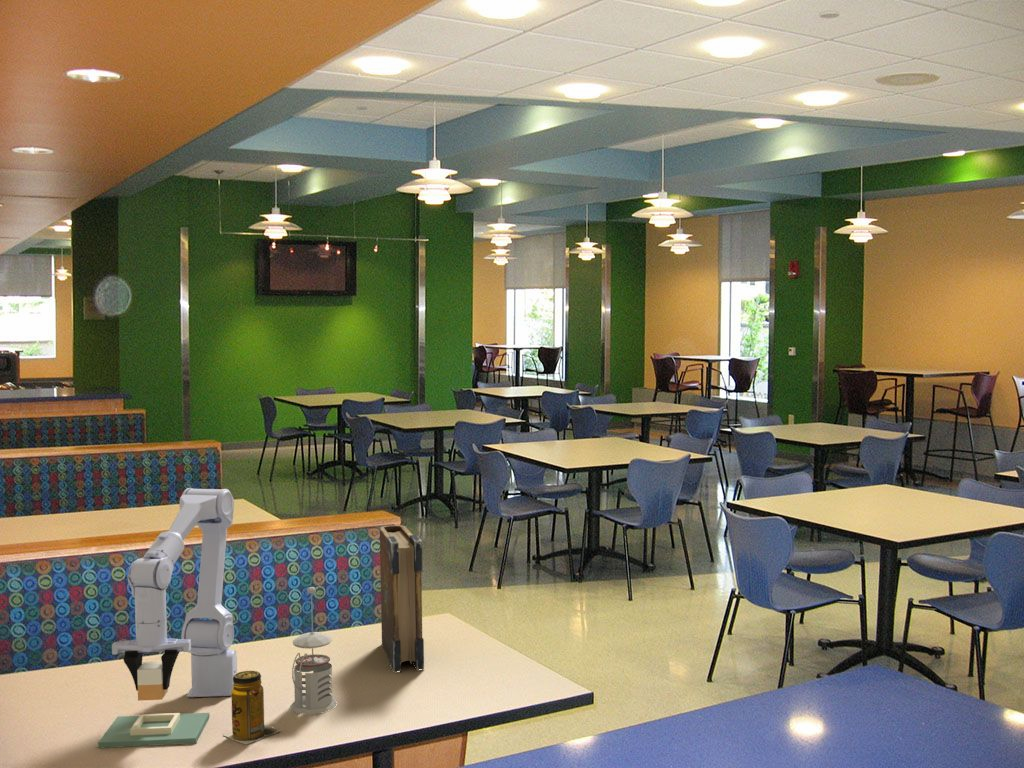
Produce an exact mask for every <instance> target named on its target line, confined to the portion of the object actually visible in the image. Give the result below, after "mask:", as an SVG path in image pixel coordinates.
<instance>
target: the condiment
mask: <svg viewBox="0 0 1024 768" xmlns="http://www.w3.org/2000/svg"><path fill="white" fill-rule="evenodd" d="M261 678H262V675H261V673H260V672H259V671H256V670H244V671H239V672H237V674H235V675H234V676H233V689H232V691H231V696H230V697H231V728H232V731H231V732H229V733H227V734H223V736H224V737H227V738H228V739H231V740H232V741H236V742H237V743H241V744H242V745H243V744H244V745H248V744H251V743H255V742H257V741H260V740H263V739H264V738H267V737H268V736H271V735H275V734H276V733H278V732H282V731H283V730H282V729H278V728H275V727H273V726H271V725H267V724H265V699H264V698H265V697H264V695H265V694H264V687H263V685H262V679H261Z"/></svg>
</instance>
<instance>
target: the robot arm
mask: <svg viewBox="0 0 1024 768" xmlns="http://www.w3.org/2000/svg"><path fill="white" fill-rule="evenodd" d="M178 505H179V511H178V513H177V514H176V517H175V518H174V520H173V522H172V524H171V526H170V527H169V529H168V530H167V531H162V532H161V533H159V535H157V537H156V538H155V539H154V541H153V543H152V544H151V545H150V547H149V548H148V550H147V551H145V552H146V553H144V555H143V557H141V558H137V559H135V560H133V562H131V565H130V566H129V570H128V575H127V582H128V585H129V587H130V589H131V596H132V597H133V598H134V616H135V617H134V618H135V639H129V640H124V641H114V642H113V643H112V644H111V652H112V653H111V654H112V655H119V654H124V657H123V662H124V665H126V667H127V669H128V670H129V673H130V675H131V678H132V679H133V682H134V686H135V691H137V692H138V678H137V670H138V669H139V667H140V666H141V665H142V664H143V653H155V652H156V653H162V655H161V656H160V658H161V662H162V666H163V690H167V689H168V690H169V687H170V686H171V685H170V684H171V676H172V672H173V669H174V666H175V664H176V661H177V659H178V656H179V654H180V652H184V653H190V661H191V662H190V663H191V664H190V669H191V671H190V672H191V688H189V691H188V692H187V694H186V698H204V697H207V698H208V697H226V696H227V697H228V696H229V697H231V691H232V689H233V676H234V675H235V674H237V673H238V658H237V657H238V655H237V651H236V650H235V649H231V648H230V647H231V645H233V642H234V638H235V629H234V628H235V627H234V616H233V614H232V613H231V612H230V611H229V610H228V609H227V608H225V606H223V605H222V601H223V599H222V598H223V588H224V585H223V584H224V573H225V562H226V546H227V539H228V538H227V535H228V528H230V527H232V526H233V521H234V520H233V519H234V509H235V499H234V497H233V494H232V493H231V491H230V490H229V489H228V488H222V489H218V488H216V489H215V488H192V487H188V488H185V489H184V490H183V492H182V493H181V496H180V497H179V504H178ZM195 527H198V528H199V530H201V532H202V537H201V538H202V540H201V552H200V564H199V565H200V566H199V575H198V577H199V578H198V587H197V589H198V590H197V601H196V605H195V606H194V607H193V608H192V609H190V610H189V611H188V612H187V613H185V619H184V624H183V626H182V629H181V633H180V634H181V637H180V638H173V637H172V638H169V637H168V631H167V630H168V629H167V627H168V626H167V625H168V623H167V588H166V587H168V585H170V583H171V580H172V576H173V575H172V574H173V572H174V568H175V566H174V565H175V563H176V562H177V560H178V559H179V557H180V556H181V555H182V553H183V552H184V550H185V539H186V538H187V537H188V536H189V534H190V533H191V532H192V530H194V528H195ZM211 619H212V620H211ZM229 648H230V649H229Z"/></svg>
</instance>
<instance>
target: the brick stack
mask: <svg viewBox="0 0 1024 768" xmlns="http://www.w3.org/2000/svg"><path fill="white" fill-rule="evenodd" d="M137 678H138V691H137V701H160V700H161V701H162V700H163V699H164V697H165V696H166V695H167V694H168V690H169V688H168V689H167V690H163V666H162V661H150V662H149V661H146V662H145V661H144V662H143V661H142V665H141V666H140V667H139V669H138V670H137Z"/></svg>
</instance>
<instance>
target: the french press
mask: <svg viewBox="0 0 1024 768" xmlns="http://www.w3.org/2000/svg"><path fill="white" fill-rule="evenodd" d="M306 593H307V594H310V600H311V601H310V602H311V603H310V604H311V607H310V609H311V612H310V613H311V632H305V633H303V634H300V635H299V636H297V637H296V638H295V639H294V640H292V645H293V646H295V647H296V648H299V649H311V653H310V654H307V653H304V655H301V653H300V652H298V653H297V654H296V655H295V658H294V659H293V663H292V667H291V668H292V671H291V675H292V677H291V679H292V683H293V686H294V692H293V693H294V701H293V702H292V703H291V704H290V705H289V710H290V709H291V711H292V712H293V711H294V712H293V713H296V712H297V714H300V713H301V715H316V713H318V714H322V713H321V712H323V713H327V712H329V711H328V710H330V711H331V709H332V710H333V708H334V707H335V706H336V704H337V705H338V702H337V703H336V701H337V700H336V699H334V698H333V695H332V694H333V689H331V688H333V683H331V682H333V678H332V677H331V676H333V667H332V666H333V665H332V663H330V661H331V658H330V656H328V655H326V654H322V653H321V654H319V653H315V654H314V649H318V648H322V647H325V646H328V645H329V644H331V642H333V639H332V637H331V636H329V635H327V634H326V633H322V632H318V631H314V626H313V624H314V622H313V619H314V618H313V594H315V593H316V594H317V590H316V587H314V586H310V587H308V588H307V589H306ZM295 664H296V665H295ZM303 673H304V674H303ZM303 679H304V680H303ZM303 685H305V686H303ZM303 691H305V692H303ZM336 707H337V706H336ZM336 707H335V708H336ZM335 708H334V709H335ZM326 711H327V712H326ZM302 713H303V714H302Z"/></svg>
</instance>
